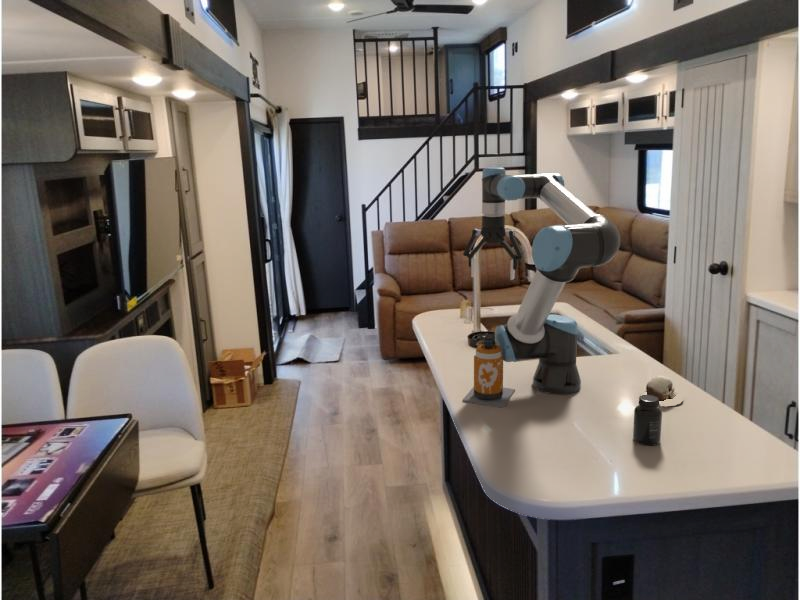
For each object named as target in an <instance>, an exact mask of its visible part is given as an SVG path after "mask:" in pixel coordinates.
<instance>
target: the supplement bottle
mask: <svg viewBox="0 0 800 600" xmlns="http://www.w3.org/2000/svg"><path fill="white" fill-rule="evenodd" d="M633 413H634V414H633V428H632V430H633V431H632V434H633V435H632V439H633V440H634V441H635V442H636V443H637V442H638V444H640V445H643V444H644V446H655V445H654V444H656V445H659V443H660V442H661V435H662V421H663V420H662V418H663V411H662V410H661V407H660V406H659V399H658V398H657V397H655V396H652V395H642V396H641V395H640V396H639V397H638V405H637V406H636V407H635V408H634V411H633Z"/></svg>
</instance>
